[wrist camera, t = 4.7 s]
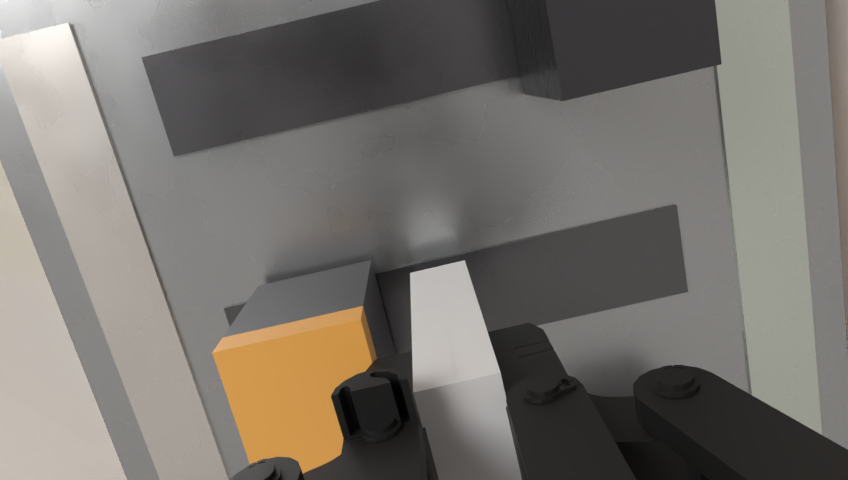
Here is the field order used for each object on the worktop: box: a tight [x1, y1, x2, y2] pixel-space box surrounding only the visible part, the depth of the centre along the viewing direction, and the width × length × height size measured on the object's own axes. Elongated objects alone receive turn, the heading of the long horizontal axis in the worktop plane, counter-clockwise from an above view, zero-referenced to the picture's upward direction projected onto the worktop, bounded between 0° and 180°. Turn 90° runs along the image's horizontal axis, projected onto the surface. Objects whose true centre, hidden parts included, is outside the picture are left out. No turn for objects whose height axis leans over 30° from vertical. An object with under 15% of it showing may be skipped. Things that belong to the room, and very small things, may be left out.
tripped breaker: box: [212, 260, 396, 474], centre depth 16 cm, size 4×3×4 cm
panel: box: [0, 0, 848, 480], centre depth 17 cm, size 21×22×6 cm
